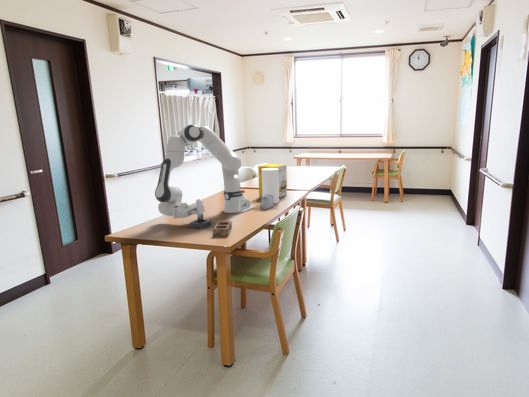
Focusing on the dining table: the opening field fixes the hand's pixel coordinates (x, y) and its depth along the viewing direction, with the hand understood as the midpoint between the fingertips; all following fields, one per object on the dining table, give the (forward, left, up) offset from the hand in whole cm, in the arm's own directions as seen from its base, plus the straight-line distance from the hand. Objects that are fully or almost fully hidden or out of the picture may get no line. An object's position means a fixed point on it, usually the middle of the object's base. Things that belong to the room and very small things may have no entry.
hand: (201, 211), depth 223 cm
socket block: (0, -1, -9) cm, 9 cm away
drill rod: (0, -1, -9) cm, 9 cm away
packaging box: (-91, -18, -9) cm, 93 cm away
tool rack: (+1, +19, -9) cm, 21 cm away
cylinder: (-73, -6, -9) cm, 74 cm away
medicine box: (-58, +3, -9) cm, 59 cm away
